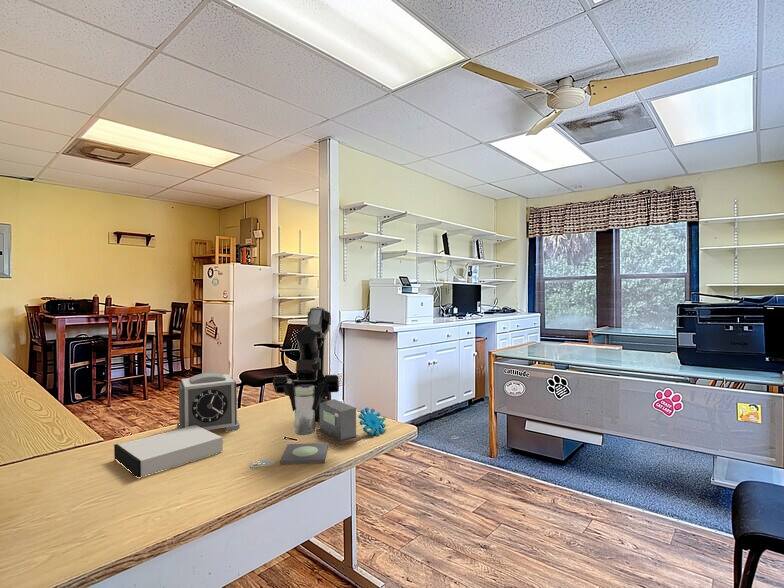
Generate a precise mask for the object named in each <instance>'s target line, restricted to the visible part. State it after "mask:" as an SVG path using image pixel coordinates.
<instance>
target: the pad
mask: <svg viewBox="0 0 784 588" xmlns="http://www.w3.org/2000/svg"><path fill="white" fill-rule="evenodd" d="M328 449H329V442H317V443H316V442H313V443H311V442H309V443H287V445H286V447H285V449H284V450H283V453H282V455H281V457H280V460H279V465H303V464H305V463H308V464H325V462H326V458H327V454H328Z"/></svg>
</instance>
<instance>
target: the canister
mask: <svg viewBox="0 0 784 588" xmlns="http://www.w3.org/2000/svg"><path fill="white" fill-rule="evenodd" d="M294 395H295V410H294V434H295V435H298V436H309V435H313V434H314V433H315V430H316V426H315V425H316V421H315V411H314V402H315V386H314V385H312V384H301V385H296V386H295V387H294Z"/></svg>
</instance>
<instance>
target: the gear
mask: <svg viewBox="0 0 784 588" xmlns="http://www.w3.org/2000/svg"><path fill="white" fill-rule="evenodd" d="M369 411H370V412H369ZM375 412H376V410H375V409H374V408H373V407H372V408H371V409H370V408H369V407H365V408H364V409H361V410H360V411H359V415H358V417H357V418H358V419H360V420H359V425H360V426H362V425H364V427H363V428H362V430H363V431H364V432H366V431H368V430H370V431H369V432H368V434H369V435H371V436H373V435H374V434H375V436H377V435H378V436H380V434H383V433H384V432H385V430H384V429H385V428H386V424H385V423H384V422H385V421H386V419H387V417H386V416H383V417H380V416H381V413H380V412H378V411H377V413H375Z"/></svg>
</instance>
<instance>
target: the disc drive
mask: <svg viewBox="0 0 784 588" xmlns="http://www.w3.org/2000/svg"><path fill="white" fill-rule="evenodd" d="M113 447H114V452H113V453H114V460H115V459H117V460H118V461H119V462H120V463H122V464H123V465H124V466H125V467H126V468H127V469H129V470H130V471H131V472H132V473H133V474H134V475H135V476H137V477H141V476H145V475H148V474H152V473H155V472H158V471H161V470H164V471H166V470H165V469H168V470H170V469H169V468H171V469H173V468H172V467H174V468H176V466H177V467H179V466H183V465H186V464H188V463H189V462H190V463H193V462H195V461H199V460H202V459H205V458H208V457H210V456H209V455H212V456H214V455H213V454H215V455H217V454H216V453H218V454H220V453H219V452H221V451H223V450H224V447H223V436H221V435H218V434H216V433H214V432H212V431H210V430H205V429H203V428H201V427H199V426H197V425H193V426H189V427H185V428H181V429H178V430H177V429H174V430H170V431H167V432H162V433H158V434H154V435H150V436H147V437H143V438H140V439H135V440H130V441H127V442H123V443H120V444H118V443H115V444H114V445H113ZM221 453H222V452H221ZM207 456H208V457H207ZM204 457H205V458H204ZM201 458H202V459H201ZM198 459H199V460H198ZM161 472H162V471H161ZM158 473H159V472H158ZM155 474H156V473H155ZM134 475H133V476H134ZM152 475H153V474H152ZM135 476H134V477H135Z"/></svg>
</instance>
